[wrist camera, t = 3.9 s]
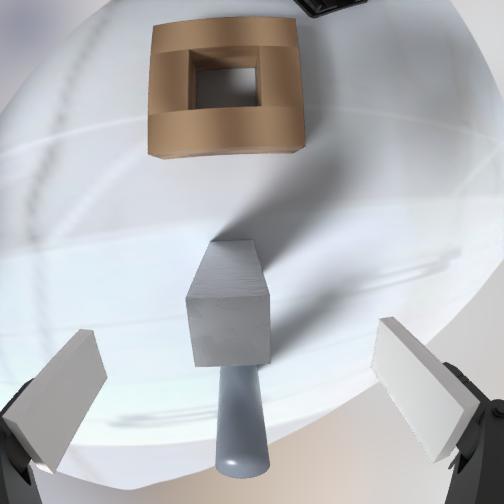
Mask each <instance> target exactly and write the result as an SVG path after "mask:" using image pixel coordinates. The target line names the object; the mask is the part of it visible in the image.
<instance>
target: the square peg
mask: <svg viewBox="0 0 504 504" xmlns="http://www.w3.org/2000/svg"><path fill="white" fill-rule="evenodd" d="M185 299H186V307H187V315H188V322H189V329H190V336H191V343H192V350H193V356H194V362H195V367H213V366H242V365H260V364H270V294H269V291H268V287H267V284H266V281H265V278H264V274H263V271H262V268H261V265H260V262H259V258H258V255H257V252H256V249H255V246H254V242H253V240H231V241H210V243H209V245H208V247H207V249H206V252H205V254H204V256H203V259H202V261H201V263H200V265H199V268H198V270H197V272H196V275H195V277H194V279H193V282H192V284H191V286H190V289H189V291H188V294H187V296H186V298H185Z"/></svg>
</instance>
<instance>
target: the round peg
mask: <svg viewBox="0 0 504 504" xmlns="http://www.w3.org/2000/svg"><path fill="white" fill-rule="evenodd" d="M215 465H216V469H217V470H218V471H219V472H220V473H221V474H223V475H225V476H228V477H232V478H240V479H242V478H243V479H244V478H252V477H256V476H259V475H261V474H263V473H265V472H266V471H267V470H268V469H269V467H270V461H269V454H268V446H267V439H266V431H265V424H264V416H263V408H262V401H261V393H260V385H259V377H258V369H257V365H242V366H221V369H220V385H219V402H218V421H217V441H216V464H215Z"/></svg>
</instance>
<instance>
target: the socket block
mask: <svg viewBox="0 0 504 504" xmlns="http://www.w3.org/2000/svg"><path fill="white" fill-rule="evenodd" d="M230 68H255V80H256V104H257V106H255V107H224V108H208V109H196V71H199V70H212V69H230ZM304 147H305V126H304V109H303V94H302V81H301V69H300V58H299V48H298V39H297V30H296V21H295V19H292V18H277V17H224V18H208V19H197V20H188V21H180V22H173V23H166V24H160V25H155V26H153V34H152V45H151V57H150V71H149V92H148V154H149V155H152V156H155V157H158V158H161V159H174V158H185V157H197V156H212V155H230V154H260V153H294V152H296V151H298V150H300V149H302V148H304Z"/></svg>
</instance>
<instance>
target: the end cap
mask: <svg viewBox="0 0 504 504" xmlns="http://www.w3.org/2000/svg"><path fill="white" fill-rule="evenodd" d="M294 1H295V2H296V3H297V4H298V5H299V6H300V7H301V9H302V10H303V11H304V12H305V13H306V14H307V15H308V16H309V17H311V18H317V17H320V16H323V15H326V14H329V13H332V12H335V11H338V10H341V9H345V8H348V7H351V6H355V5H358V4H362V3H366V2H367V1H368V0H294Z"/></svg>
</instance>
